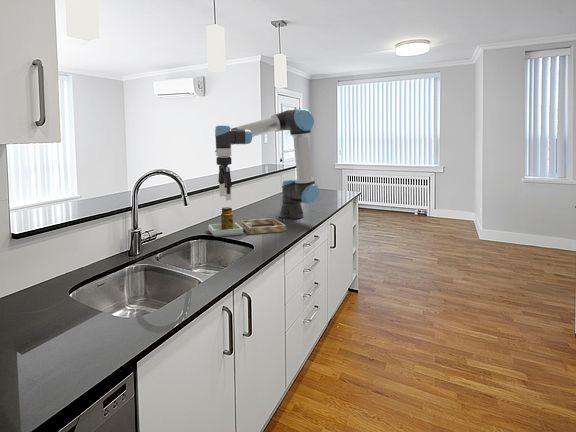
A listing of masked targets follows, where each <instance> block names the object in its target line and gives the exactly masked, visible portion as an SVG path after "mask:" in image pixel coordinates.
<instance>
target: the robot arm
mask: <svg viewBox="0 0 576 432" xmlns="http://www.w3.org/2000/svg"><path fill="white" fill-rule="evenodd" d="M314 125H315V119H314V115H313V114H312V112H311V111H309V110H308V109H305V108H298V109H287V110H284V111H282V112H281V111H280V112H279V113H276V114H273V115H271V116H270V117H269V118H264V119H261V120H258V121H255V122H250V123H247V124H242V125H239V126H236V127H232V128H231V125H216V126H215V128H214V129H215V130H214V131H215V132H214V136H215V150H214V152H215V155H216V165H218V181H217V182H218V184H219V196H220V197H225V201H232V187H233V182H232V178H231V177H232V176H231V167H230V166H229V165H232V164H233V163H232V145H249V144H251V143H252V141H253V137H256V136H260V135H265V134H268V133H271V132H276V133H277V132H280V131H289V133H290V136H291V137H292V138H293V146H294V147H293V149H294V158H295V169H296V179H287V180H283V182H282V186H281V188H282V196H281V197H282V201H281V203H282V204H281V207H280V210H279V212H278V213H279V217H280V218H283V219H288V220H289V219H293V220H294V219H302V218H304V215H305V214H304V211H303V206H302V203H303V204H309V205H311V204H314V203H315V202H317V199H319V197H320V188H319V187H318V186H317V185H316V182H315V179H314V178H313V177H312V165H311V162H312V161H311V153H310V141H309V140H310V139H309V135H310V134H311V133H312V132H311V130H312V129H313V126H314Z"/></svg>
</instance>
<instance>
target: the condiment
mask: <svg viewBox="0 0 576 432" xmlns="http://www.w3.org/2000/svg"><path fill="white" fill-rule="evenodd" d="M220 218H221V219H220V220H221V222H220V224H221V227H222V229H217V230H227V229H233V223H234V214H233V208H232V207H221V216H220Z"/></svg>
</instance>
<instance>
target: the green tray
mask: <svg viewBox="0 0 576 432" xmlns="http://www.w3.org/2000/svg"><path fill="white" fill-rule="evenodd" d="M217 229H222V227H221V223H213V224H211V223H210V224H208V231H209V233H210V234H211V233H212V234H211V235H212V236H213V237H214V238H215V237H216V238H217V237H223V236H224V237H225V236H227V237H228V236H240V235H244V229H243V228H242V227H241V226H240V224H238V223H237V222H233V229H227V230H217Z"/></svg>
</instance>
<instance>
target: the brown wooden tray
mask: <svg viewBox="0 0 576 432" xmlns="http://www.w3.org/2000/svg"><path fill="white" fill-rule="evenodd" d="M249 222H250V223H252V226H256V227H250V226H248V225H247V224H246V223H249ZM260 225H261V226H260ZM262 225H270V226H262ZM271 225H272V226H271ZM275 225H278V226H275ZM239 226H241V227H242V228H243V230H245V231H246V232H247V233H248V234H249V235H253V234H265V233H278V232H286V231H287V224H284V223H283V222H281V221H279V220H278V219H276V218H274V217H272V218H257V219H256V218H255V219H246V220H244V219H243V220H240V221H239Z"/></svg>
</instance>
